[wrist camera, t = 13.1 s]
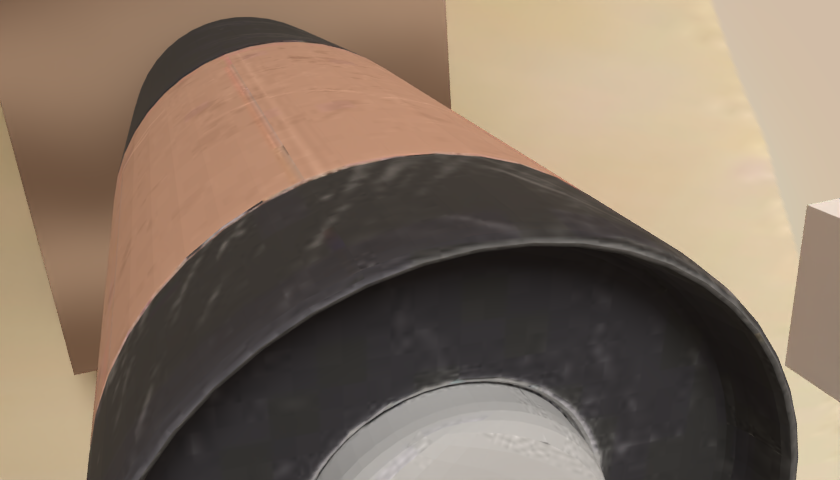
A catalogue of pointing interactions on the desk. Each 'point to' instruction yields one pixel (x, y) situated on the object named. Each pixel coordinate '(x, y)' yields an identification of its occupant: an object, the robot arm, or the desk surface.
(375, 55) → the walnut stand
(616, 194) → the desk surface
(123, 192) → the travel mug
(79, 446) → the desk surface
